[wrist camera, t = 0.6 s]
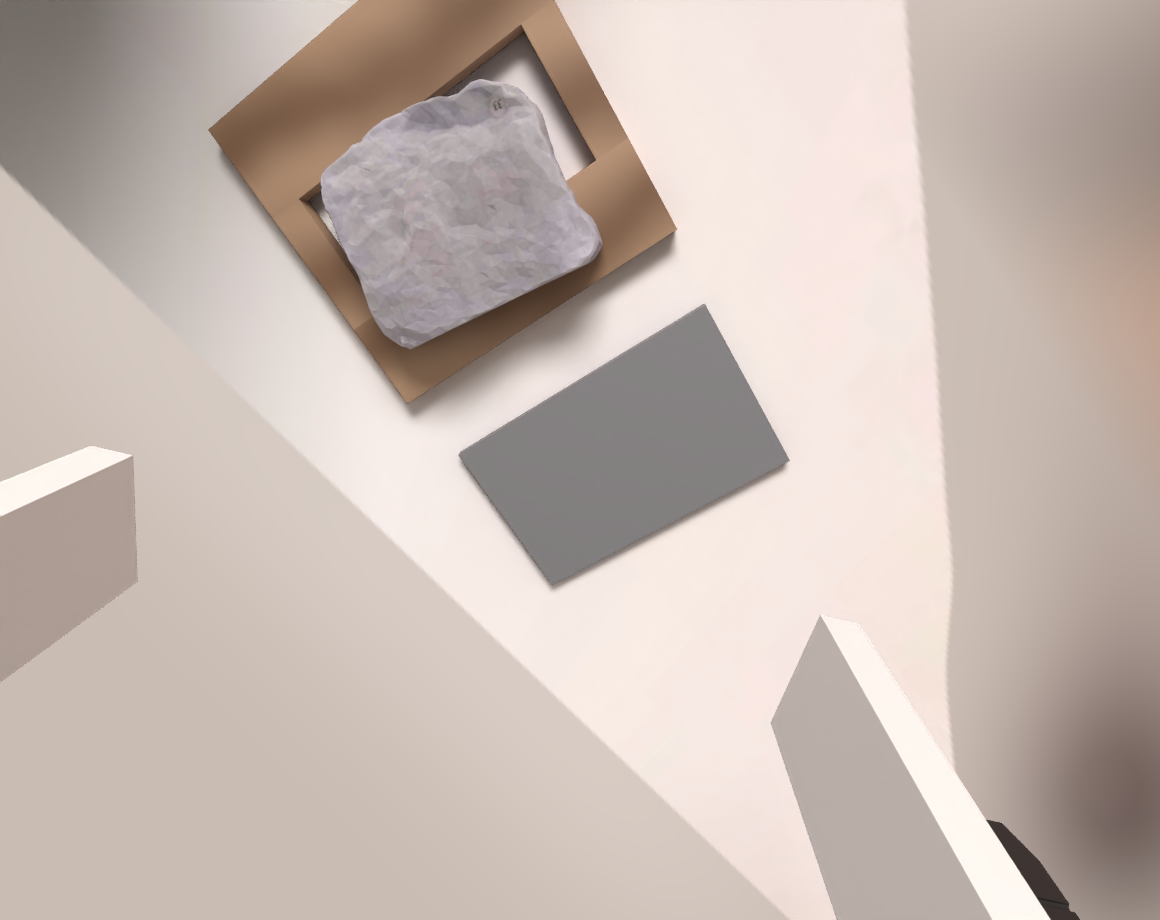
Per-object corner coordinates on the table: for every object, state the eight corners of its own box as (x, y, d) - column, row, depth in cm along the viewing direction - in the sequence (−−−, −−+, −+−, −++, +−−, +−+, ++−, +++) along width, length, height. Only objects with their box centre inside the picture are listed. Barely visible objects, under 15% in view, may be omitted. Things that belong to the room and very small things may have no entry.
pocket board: (221, 133, 30) (208, 129, 29) (496, -102, 26) (492, -115, 25) (413, 399, 34) (407, 403, 33) (675, 229, 30) (677, 229, 29)
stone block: (338, 193, 32) (419, 363, 33) (284, 162, 27) (380, 361, 28) (533, 82, 30) (614, 265, 31) (511, 27, 25) (608, 245, 26)
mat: (460, 451, 35) (458, 454, 34) (703, 303, 31) (705, 305, 31) (552, 579, 37) (552, 585, 37) (786, 457, 34) (789, 460, 33)
